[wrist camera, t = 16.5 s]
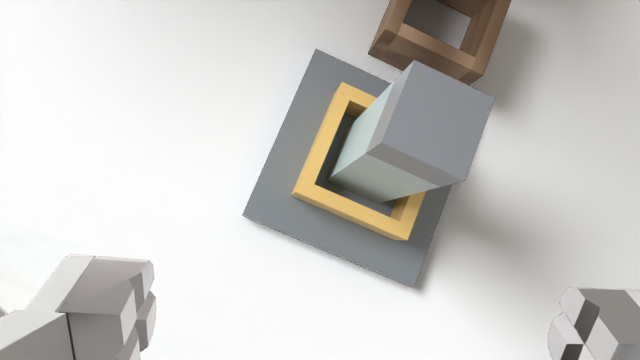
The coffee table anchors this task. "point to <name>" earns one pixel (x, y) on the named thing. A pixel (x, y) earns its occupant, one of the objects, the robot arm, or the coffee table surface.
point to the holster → (411, 44)
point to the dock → (330, 199)
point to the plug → (412, 137)
